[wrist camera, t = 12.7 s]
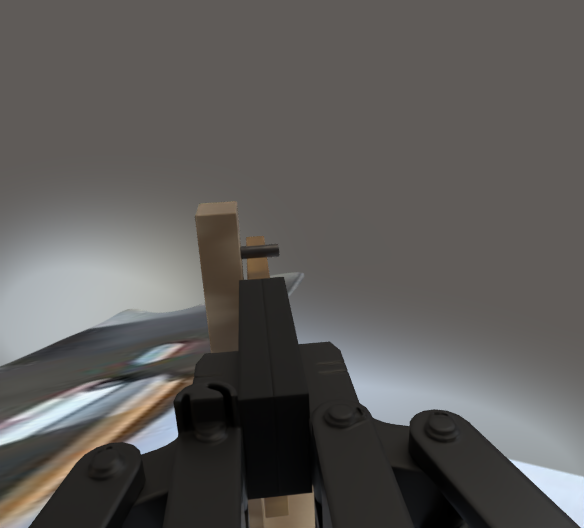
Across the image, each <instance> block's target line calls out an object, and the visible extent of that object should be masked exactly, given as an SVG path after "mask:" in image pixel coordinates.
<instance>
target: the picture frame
mask: <svg viewBox="0 0 584 528" xmlns="http://www.w3.org/2000/svg"><path fill="white" fill-rule="evenodd" d="M256 245H265V242H264V236H257V237H247V238H246V246H256ZM247 276H248V280H249V279H262V278H270V275H269V269H268V262H267V257H265V258H252V259H247ZM264 508H265V517H266V518H272V517H280V516H288V515H289V500H288V496H278V497H269V498H264Z"/></svg>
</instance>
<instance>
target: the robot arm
mask: <svg viewBox="0 0 584 528" xmlns="http://www.w3.org/2000/svg"><path fill="white" fill-rule="evenodd" d="M174 408H175V415H176V421H177V428H178V437H177V438H176V439H175V440H174V441H173V442H171V443H169V444H168V445H166V446H164V447H161V448H159V449H157V450H154V451H151V452H148V453H145V454H142V455H141V454H140V450H139V449H137V448H136V447H135V446H134V445H132V444H127V443H123V442H121V443H109V444H106V445H103V446H100V447H97V448H95V449H94V450H92V451H90V452H88V453H87V454H85V455H84V456H83V457H82V458H81V459H80V460H79V461H78V462H77V463H76V464H75V466H74V467H73V468H72V470H71V471H70V472H69V474H68V475H67V476H66V478H65V479H64V480H63V482H62V483H61V484H60V486H59V487H58V489H57V490H56V491H55V493H54V494H53V495H52V497H51V498H50V499H49V501H48V502H47V503H46V505H45V506H44V507H43V509H42V510H41V511H40V513H39V514H38V515H37V517H36V518H35V520H34V521H33V522H32V524H31V525H30V526H29V528H250V519H249V509H248V500H251V499H260V498H269V497H278V496H288V495H297V494H306V493H313V491H314V509H315V528H581V527H579V526H578V525H577V524H576V523H575V522H574V521H573V520H572V519H571V518H570V517H569V516H568V515H567V514H566V513H565V512H564V511H563V510H561V509H560V508H559V507H558V506H557V505H556V504H555V503H554V502H553V501H552V500H551V499H550V498H549V497H548V496H547V495H546V494H544V493H543V492H542V491H541V490H540V489H539V488H538V487H537V486H536V485H535V484H534V483H533V482H532V481H531V480H530V479H529V478H528V477H526V476H525V475H524V474H523V473H522V472H521V471H520V470H519V469H518V468H517V467H516V466H515V465H514V464H513V463H512V462H511V461H509V460H508V459H507V458H506V457H505V456H504V455H503V454H502V453H501V452H500V451H499V450H498V449H497V448H496V447H495V446H494V445H492V444H491V443H490V442H489V441H488V440H487V439H486V438H485V437H484V436H483V435H482V434H481V433H480V432H479V431H478V430H477V429H475V428H474V427H473V426H472V425H471V424H470V423H469V422H468V421H467V420H465V419H464V418H462V417H461V416H459V415H457V414H454V413H452V412H449V411H444V410H427V411H422V412H420V413H418V414H416V415H415V416H414V417H413V418H412V419H411V421H410V426H403V425H395V424H390V423H385V422H382V421H379V420H376V419H374V418H373V417H372V416H371V414H370V412H369V411H368V409H367V408H366V407H365V406H363V405H361V404H360V403H359V400H358V398H357V395H356V393H355V389H354V387H353V384H352V381H351V378H350V376H349V373H348V372H347V368H346V365H345V363H344V359H343V357H342V354H341V351H340V350H339V349H338V348H337V347H335V346H334V345H333V344H332V343H331V342H320V343H309V344H298V340H297V336H296V331H295V326H294V322H293V317H292V313H291V308H290V304H289V299H288V294H287V289H286V285H285V280H284V277H275V278H262V279H249V280H239V334H238V351H231V352H220V353H208V354H204V355H203V357H202V358H201V359H200V360H199V361H198V363H197V364H196V367H195V373H194V380H193V384H192V385H190V386H187V387H185V388H184V389H183V390H182V391H180V392H179V393H178V394H177V396H176V398H175V400H174ZM312 485H313V491H312Z"/></svg>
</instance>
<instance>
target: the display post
mask: <svg viewBox="0 0 584 528" xmlns="http://www.w3.org/2000/svg"><path fill="white" fill-rule="evenodd" d="M195 221H196V228H197V238H198V246H199V254H200V262H201V271H202V280H203V288H204V296H205V305H206V313H207V322H208V330H209V338H210V347H211V353H220V352H231V351H238V334H239V280H244V277H243V266H242V259H252V258H265V257H278V256H279V245H278V244H269V245H256V246H242V247H241V243H240V231H239V220H238V208H237V202H236V201H232V202H218V203H203V204H199V206H198V209H197V212H196V215H195ZM312 491H313V485H312ZM288 500H289V515H288V516H280V517H272V518H266V517H265V508H264V498H260V499H251V500H248V509H249V519H250V528H315V509H314V491H313V493H306V494H297V495H288Z"/></svg>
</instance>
